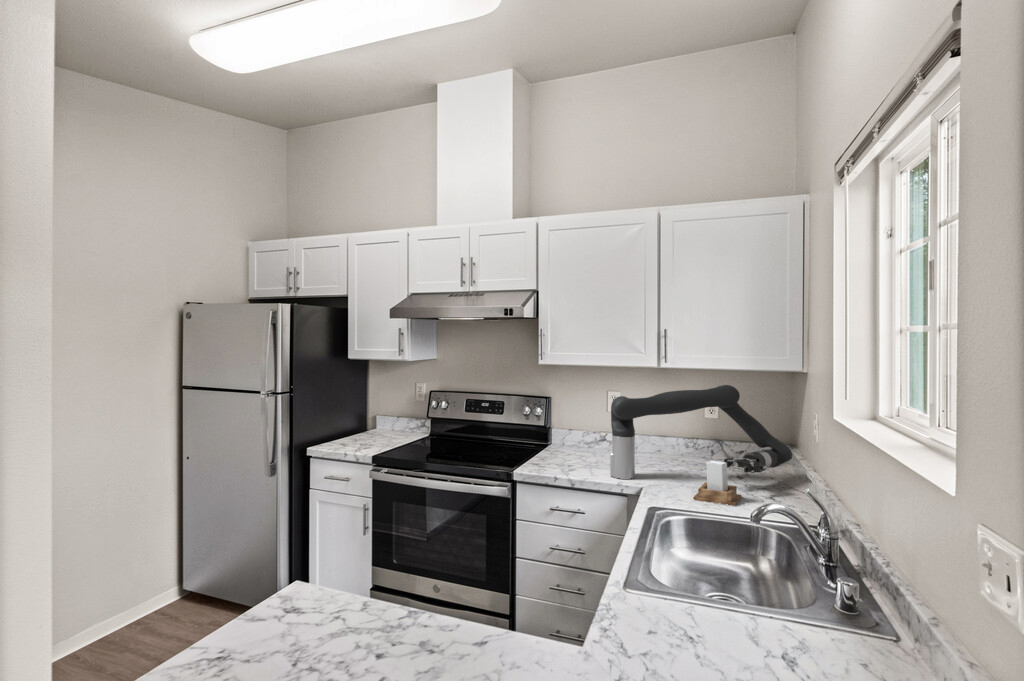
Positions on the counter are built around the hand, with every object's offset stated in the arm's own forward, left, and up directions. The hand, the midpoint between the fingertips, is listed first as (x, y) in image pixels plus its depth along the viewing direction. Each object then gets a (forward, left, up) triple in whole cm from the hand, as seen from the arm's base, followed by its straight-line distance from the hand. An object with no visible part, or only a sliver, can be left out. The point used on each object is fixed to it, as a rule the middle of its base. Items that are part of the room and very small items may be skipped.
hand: (734, 467), depth 205 cm
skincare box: (-4, -10, -9) cm, 14 cm away
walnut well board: (-4, -10, -10) cm, 15 cm away
